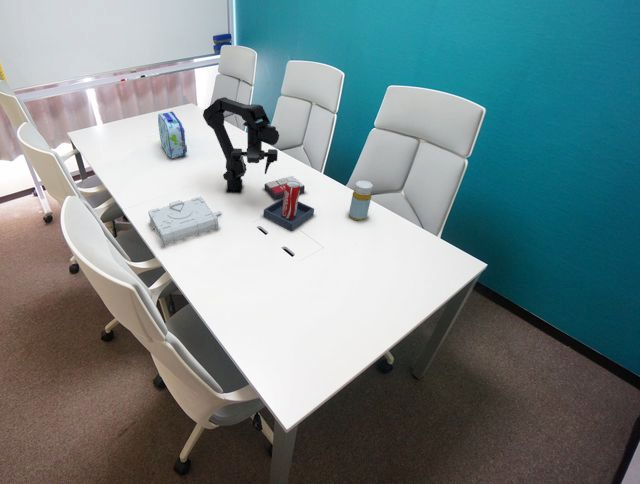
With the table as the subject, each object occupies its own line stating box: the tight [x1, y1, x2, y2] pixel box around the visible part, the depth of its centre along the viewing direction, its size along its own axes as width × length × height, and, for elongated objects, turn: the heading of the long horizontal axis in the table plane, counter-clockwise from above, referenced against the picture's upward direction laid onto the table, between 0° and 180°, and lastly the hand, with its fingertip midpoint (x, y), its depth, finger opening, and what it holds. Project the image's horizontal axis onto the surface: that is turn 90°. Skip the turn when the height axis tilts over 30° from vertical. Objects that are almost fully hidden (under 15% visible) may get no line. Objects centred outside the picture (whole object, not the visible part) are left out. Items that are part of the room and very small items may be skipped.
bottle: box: [348, 180, 374, 222], centre depth 137 cm, size 7×7×15 cm
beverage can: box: [282, 181, 300, 219], centre depth 137 cm, size 6×6×15 cm
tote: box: [263, 198, 315, 232], centre depth 141 cm, size 15×15×4 cm
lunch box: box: [157, 110, 188, 159], centre depth 192 cm, size 26×11×21 cm, turn 23°
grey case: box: [147, 195, 222, 246], centre depth 137 cm, size 19×28×8 cm
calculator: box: [264, 175, 306, 201], centre depth 157 cm, size 11×4×15 cm
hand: (254, 173), depth 146 cm, fingers open, 9 cm apart
